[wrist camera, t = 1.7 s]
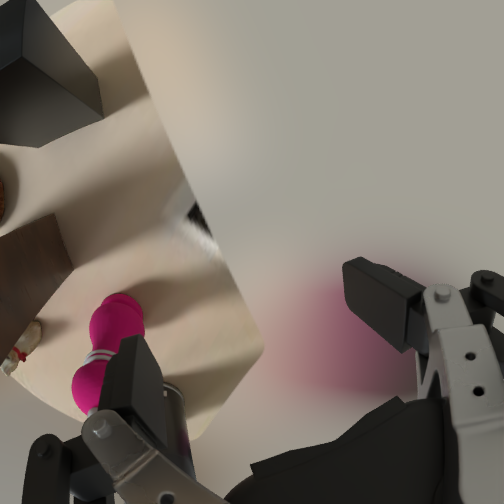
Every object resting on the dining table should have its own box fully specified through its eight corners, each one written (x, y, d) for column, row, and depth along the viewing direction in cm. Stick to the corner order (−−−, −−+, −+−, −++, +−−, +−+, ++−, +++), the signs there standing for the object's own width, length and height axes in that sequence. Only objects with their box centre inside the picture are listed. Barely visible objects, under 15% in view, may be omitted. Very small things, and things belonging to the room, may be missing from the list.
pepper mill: (138, 285, 35) (117, 390, 17) (152, 331, 37) (150, 445, 19) (90, 294, 33) (40, 395, 15) (106, 339, 36) (81, 448, 17)
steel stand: (104, 118, 28) (21, 56, 8) (38, 148, 26) (-79, 140, 6) (97, 77, 26) (27, -12, 6) (32, 108, 24) (-74, 69, 4)
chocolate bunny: (4, 321, 30) (-24, 355, 21) (38, 317, 32) (12, 355, 23) (17, 350, 32) (-6, 387, 22) (51, 348, 34) (31, 389, 24)
